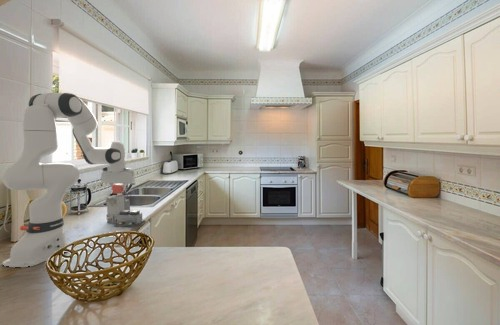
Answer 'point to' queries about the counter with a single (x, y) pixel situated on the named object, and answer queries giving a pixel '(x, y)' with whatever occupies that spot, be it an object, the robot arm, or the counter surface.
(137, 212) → the plunger
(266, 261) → the counter surface
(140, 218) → the breaker panel
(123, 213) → the plunger
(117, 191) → the red cube
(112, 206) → the circuit breaker
